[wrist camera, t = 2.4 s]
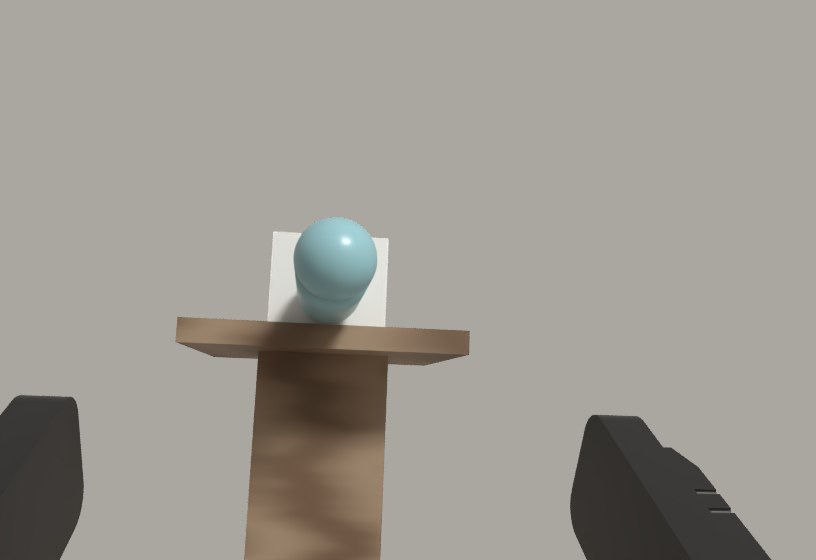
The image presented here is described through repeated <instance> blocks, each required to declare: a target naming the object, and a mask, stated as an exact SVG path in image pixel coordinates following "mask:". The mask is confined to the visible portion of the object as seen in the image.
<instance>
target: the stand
mask: <svg viewBox="0 0 816 560" xmlns="http://www.w3.org/2000/svg"><path fill="white" fill-rule="evenodd" d="M177 319H178V320H177V331H176V342H177V343H180V344H182V345H185V346H187V347H190V348H193V349H195V350H198V351H200V352H203V353H206V354H209V355H211V356H213V357H229V358H231V357H232V358H255V359H258V368H257V382H256V397H255V411H254V425H253V440H252V456H251V470H250V484H249V499H248V513H247V528H246V543H245V557H244V560H380V549H381V523H382V497H383V472H384V446H385V422H386V396H387V370H388V364H399V365H400V364H401V365H428V364H433V363H436V362H441V361H445V360H449V359H453V358H457V357H462V356H466V355H469V331H458V330H457V331H456V330H436V329H416V328H395V327H375V326H354V325H333V324H312V323H291V322H270V321H249V320H227V319H205V318H185V317H178V318H177Z"/></svg>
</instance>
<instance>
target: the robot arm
mask: <svg viewBox="0 0 816 560" xmlns="http://www.w3.org/2000/svg"><path fill="white" fill-rule="evenodd" d="M83 488H84V484H83V471H82V457H81V444H80V432H79V419H78V409H77V404H76V401H75V400H74V398H72V397H55V396H26V395H19V396H17V397H15V398H14V399H13V400H12V401H11V403H10V404H9V405H8V406H7V408H6V409H5V410H4V412H3V413H2V414H1V415H0V560H60V558H61V556H62V554H63V551H64V549H65V548H66V546H67V544H68V542H69V540H70V538H71V535H72V534H73V532H74V529H75V527H76V525H77V522H78V519H79V516H80V512H81V507H82V501H83ZM570 508H571V509H570V510H571V520H572V525H573V529H574V532H575V535H576V537H577V539H578V541H579V544H580V546H581V548H582V550H583V552H584V555H585V557H586V559H587V560H771V559H770V558H769V556H768V555H767V554H766V553H765V551H764V550H763V549H762V547H761V546H760V545H759V544H758V542H757V541H756V540H755V539H754V537H753V536H752V535H751V533H750V532H749V531H748V530H747V528H746V527H745V526H744V525H743V523H742V522H741V521H740V519H739V518H738V517H737V516H736V514H735V513H731V510H730V509H731V508H730V507H729V506H728V504H727V503H726V502H725V501H724V499H723V498H722V497H721V495H720V494H716V489H715V488H714V486H713V485H712V484H711V483H710V481H709V480H708V479H707V478H706V477H705V475H704V474H703V473H702V471H701V470H700V469H699V467H697V466H696V465H694V464H693V463H692V462H690V461H689V460H688V459H686V458H685V457H683V456H682V455H681V454H679V453H678V452H676V451H675V450H674V449H672V448H663V447H662V445H661V444H660V443H659V441H658V440H657V439H656V437H655V436H654V435H653V434H652V432H651V431H650V429H649V428H648V427H647V425H646V424H645V423H644V421H643V420H642V419H641V418H639V417H637V416H613V415H611V416H610V415H592V416H591V417H590V418H589V420H588V421H587V424H586V427H585V431H584V436H583V440H582V445H581V450H580V455H579V460H578V464H577V469H576V473H575V478H574V483H573V488H572V493H571V503H570Z"/></svg>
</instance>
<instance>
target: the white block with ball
mask: <svg viewBox="0 0 816 560" xmlns="http://www.w3.org/2000/svg"><path fill="white" fill-rule="evenodd" d="M388 242H389V239H384V238H372V237H371V236H370V235H369V233H368V232H367V231H366V230H365V229H364V228H363V227H362V226H361V225H359V224H357V223H356V222H354V221H351V220H349V219H345V218H339V217H330V218H325V219H322V220H319V221H317V222H315V223H313V224H312V225H310V226H309V227H308V228H307V229H306V230H305V231H304V232H303V233H292V232H275V231H274V232H273V247H272V261H271V276H270V277H271V278H270V291H269V306H268V307H269V308H268V321H270V322H291V323H312V324H333V325H354V326H375V327H385V316H386V290H387V266H388Z"/></svg>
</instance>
